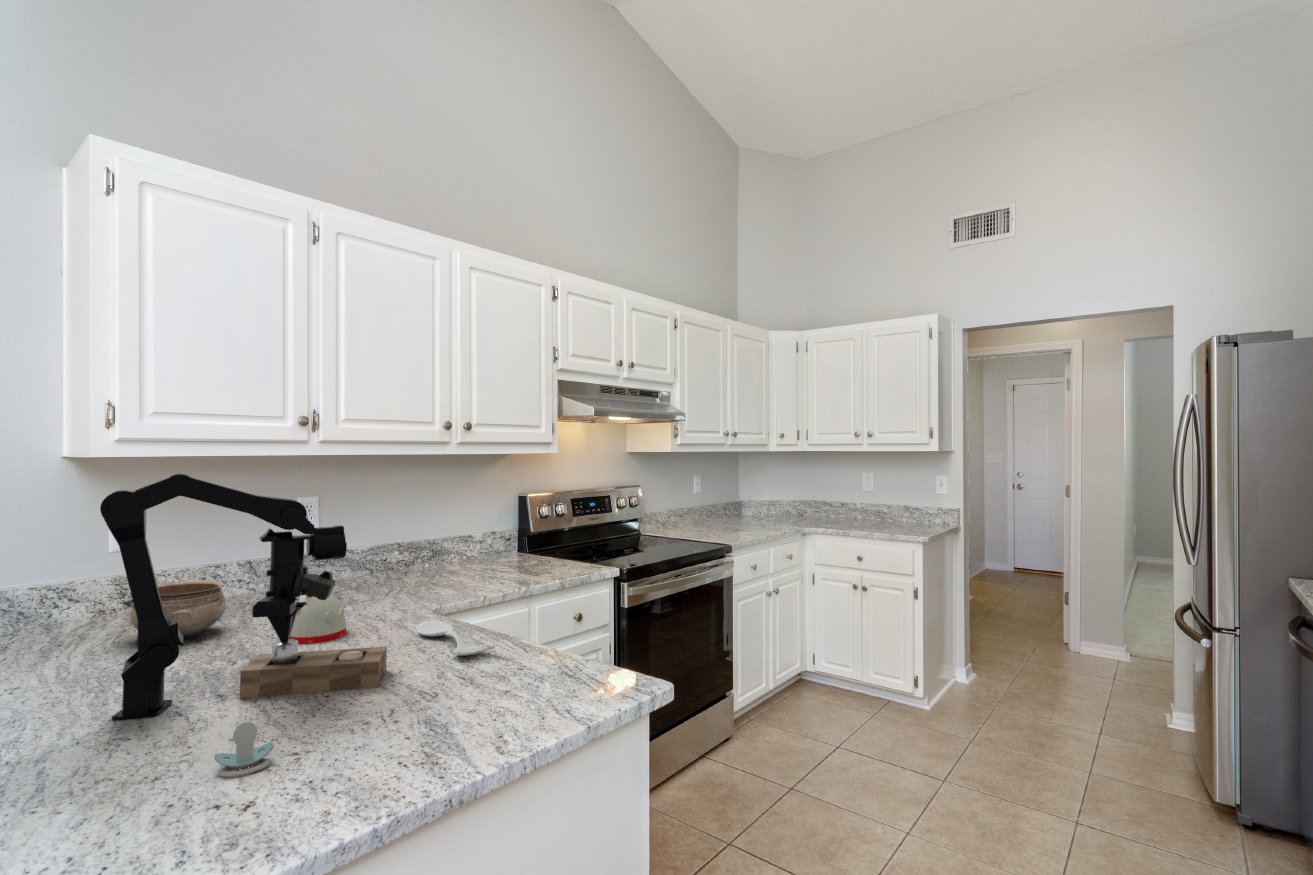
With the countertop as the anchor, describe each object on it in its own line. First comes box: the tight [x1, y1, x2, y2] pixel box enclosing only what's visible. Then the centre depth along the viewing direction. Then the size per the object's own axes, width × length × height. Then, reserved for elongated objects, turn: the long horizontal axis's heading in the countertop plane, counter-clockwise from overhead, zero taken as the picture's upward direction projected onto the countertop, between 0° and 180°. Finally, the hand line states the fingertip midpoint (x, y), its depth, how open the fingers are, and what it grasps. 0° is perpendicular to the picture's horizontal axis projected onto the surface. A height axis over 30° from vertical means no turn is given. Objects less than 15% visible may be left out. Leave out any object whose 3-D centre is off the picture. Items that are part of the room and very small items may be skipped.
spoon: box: [415, 619, 496, 657], centre depth 152 cm, size 9×32×4 cm, turn 39°
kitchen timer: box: [289, 574, 347, 645], centre depth 158 cm, size 14×14×15 cm
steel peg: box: [271, 639, 299, 665], centre depth 124 cm, size 4×4×5 cm
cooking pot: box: [129, 579, 227, 641], centre depth 155 cm, size 25×19×12 cm
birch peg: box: [339, 651, 363, 660], centre depth 127 cm, size 4×4×5 cm
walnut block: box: [239, 646, 388, 699], centre depth 125 cm, size 10×24×5 cm, turn 105°
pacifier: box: [213, 721, 274, 778], centre depth 92 cm, size 7×6×6 cm
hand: (284, 642), depth 124 cm, fingers closed
